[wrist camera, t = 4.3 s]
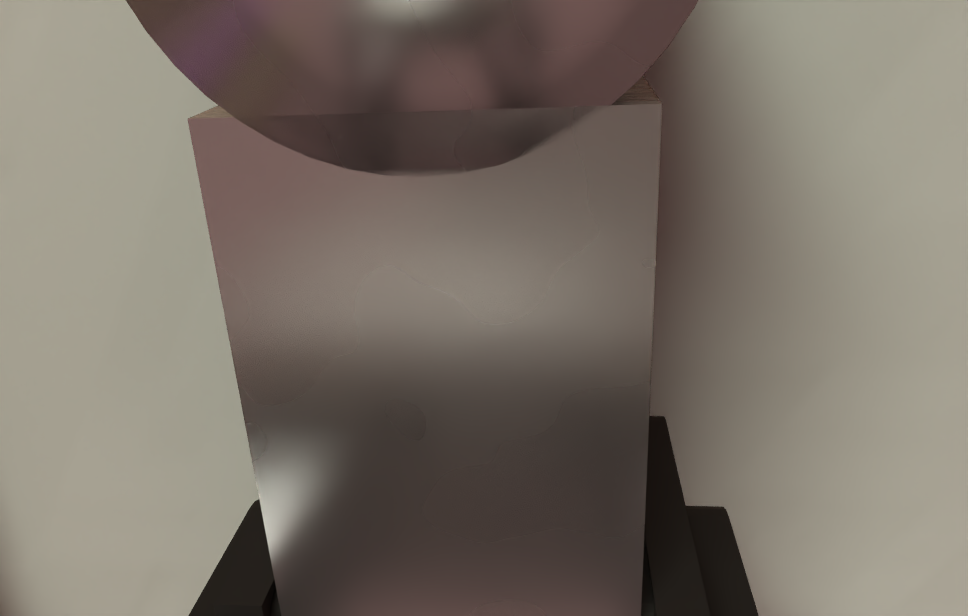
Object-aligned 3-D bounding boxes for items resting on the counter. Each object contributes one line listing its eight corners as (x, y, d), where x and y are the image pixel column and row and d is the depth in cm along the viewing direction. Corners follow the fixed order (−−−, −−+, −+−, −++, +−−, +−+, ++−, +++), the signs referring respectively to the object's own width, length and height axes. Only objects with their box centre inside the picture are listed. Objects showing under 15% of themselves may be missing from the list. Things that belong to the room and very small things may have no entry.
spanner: (685, -394, 8) (793, -700, 4) (628, 933, 16) (648, 1218, 13) (228, -353, 8) (-30, -597, 5) (403, 919, 17) (359, 1188, 13)
